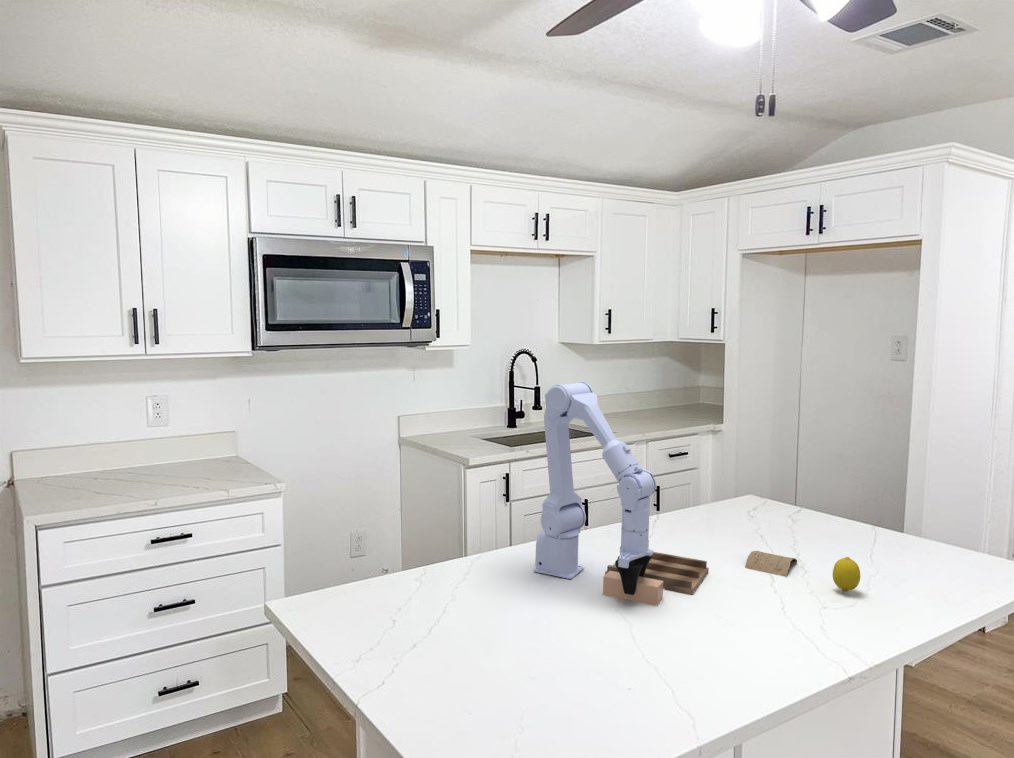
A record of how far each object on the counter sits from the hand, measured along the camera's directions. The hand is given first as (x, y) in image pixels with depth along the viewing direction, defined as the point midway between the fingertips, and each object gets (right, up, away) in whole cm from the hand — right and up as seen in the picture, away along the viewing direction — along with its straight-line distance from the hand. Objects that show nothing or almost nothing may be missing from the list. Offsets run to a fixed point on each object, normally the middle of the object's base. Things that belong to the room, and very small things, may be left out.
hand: (632, 590), depth 160 cm
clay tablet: (+37, -1, +21) cm, 43 cm away
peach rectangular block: (0, -2, 0) cm, 2 cm away
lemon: (+47, -2, +5) cm, 48 cm away
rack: (+8, 0, +13) cm, 15 cm away
